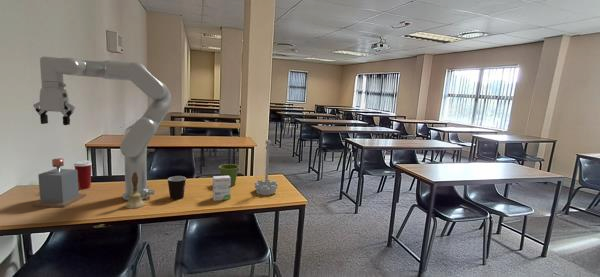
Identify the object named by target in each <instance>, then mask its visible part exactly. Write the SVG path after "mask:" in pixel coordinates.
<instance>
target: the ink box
mask: <svg viewBox="0 0 600 277" xmlns="http://www.w3.org/2000/svg"><path fill="white" fill-rule="evenodd" d="M231 187H232V186H231V178H230V176H221V175H216V176H215V175H213V176H212V200H213V202H214V201H225V200H231Z"/></svg>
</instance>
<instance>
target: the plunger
mask: <svg viewBox="0 0 600 277" xmlns="http://www.w3.org/2000/svg"><path fill="white" fill-rule="evenodd" d="M51 162H52V167H53V168H56V169H57V173H60V169H61V167H64V166H65V165H64V158H53V159H52V160H51Z"/></svg>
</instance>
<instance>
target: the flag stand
mask: <svg viewBox="0 0 600 277" xmlns="http://www.w3.org/2000/svg"><path fill="white" fill-rule="evenodd" d="M271 143H272V142H271V140H269V139H267V140H266V141H265V145H266V146H265V149H266V150H265V152H266V154H265V171H264V172H265V175H264V176H265V178H264V180H263V179H258V180H256V181H254V188H255V190H256V191H255V192H256V193H257V194H258V195H262V196H271V194H272V195H275V194H276V192H277V191H276V190H277V189H278V187H279V183H278V182H277V181H276V180H274V179H273V180H272V181H271V179H269V165H270V164H269V162H270V161H269V160H270V158H269V157H270V145H272V144H271ZM274 193H275V194H274Z"/></svg>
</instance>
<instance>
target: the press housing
mask: <svg viewBox="0 0 600 277" xmlns="http://www.w3.org/2000/svg"><path fill="white" fill-rule="evenodd" d="M37 178H38V187H39V189H38V190H39V200H37V201H34V202H32V203H31V205H32V207H47V206H49V207H50V208H51V207H52V208H66V207H67V206H70V205H72V204H74V203H76V202H78V201H79V200H82V199H83V198H86V196H87V194H86V193H80V191H79V190H80V189H78V172H77V170H75V168H74V169H72V168H71V169H70V168H60V173H57V168H53V169H51V170H47V171H44V172H41V173H38V177H37Z"/></svg>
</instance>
